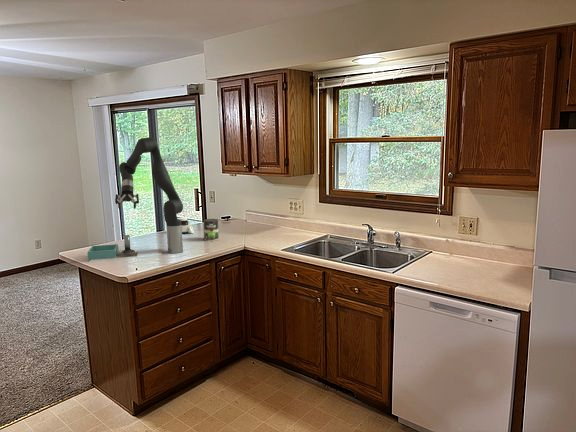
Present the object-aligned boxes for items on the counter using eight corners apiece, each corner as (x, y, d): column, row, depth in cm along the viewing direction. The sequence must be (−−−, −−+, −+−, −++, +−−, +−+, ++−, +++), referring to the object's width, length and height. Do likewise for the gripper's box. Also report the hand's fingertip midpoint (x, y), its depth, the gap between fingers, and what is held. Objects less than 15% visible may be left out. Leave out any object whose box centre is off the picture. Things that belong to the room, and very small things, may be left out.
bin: (118, 253, 269) (118, 244, 268) (115, 259, 255) (114, 250, 254) (93, 255, 266) (92, 245, 264) (88, 261, 251) (87, 251, 250)
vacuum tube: (132, 253, 264) (131, 234, 262) (131, 255, 260) (130, 236, 258) (124, 254, 263) (123, 234, 261) (123, 255, 259) (122, 236, 257)
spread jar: (177, 232, 330) (176, 217, 328) (192, 231, 334) (191, 216, 332) (179, 235, 319) (178, 220, 317) (195, 234, 323) (194, 218, 321)
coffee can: (219, 240, 301) (218, 220, 299) (204, 241, 299) (203, 221, 297) (218, 237, 311) (217, 218, 309) (204, 238, 309) (203, 219, 307)
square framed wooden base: (138, 253, 268) (138, 248, 268) (136, 258, 258) (136, 253, 257) (119, 255, 266) (119, 250, 265) (117, 259, 255) (117, 254, 255)
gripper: (115, 184, 275) (114, 205, 267) (138, 184, 279) (138, 204, 271) (116, 191, 281) (115, 212, 273) (139, 191, 285) (139, 211, 277)
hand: (127, 208), depth 272 cm, fingers open, 8 cm apart
